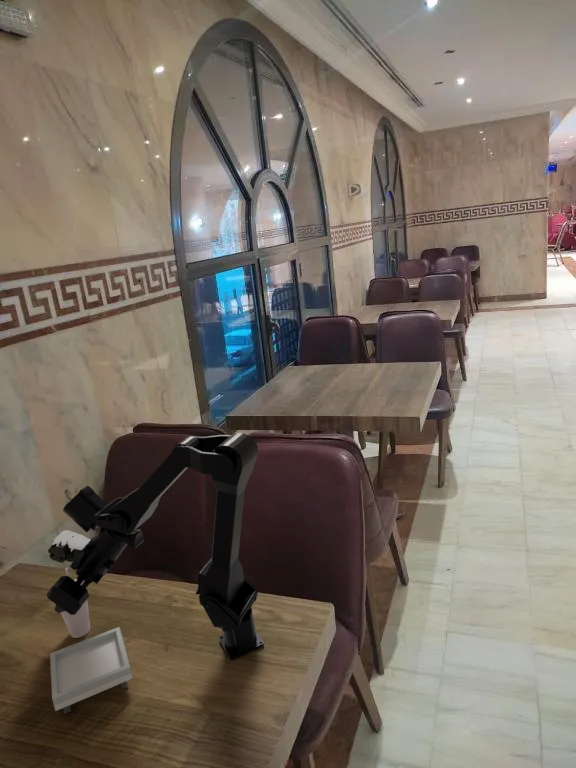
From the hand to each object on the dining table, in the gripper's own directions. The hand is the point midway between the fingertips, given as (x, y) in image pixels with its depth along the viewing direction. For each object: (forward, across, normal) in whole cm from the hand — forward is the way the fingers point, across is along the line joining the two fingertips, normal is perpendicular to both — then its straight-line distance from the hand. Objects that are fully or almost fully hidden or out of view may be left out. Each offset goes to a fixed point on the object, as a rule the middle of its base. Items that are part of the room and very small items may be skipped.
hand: (65, 600), depth 105 cm
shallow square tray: (-3, +13, +13) cm, 18 cm away
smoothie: (+4, 0, +6) cm, 7 cm away
